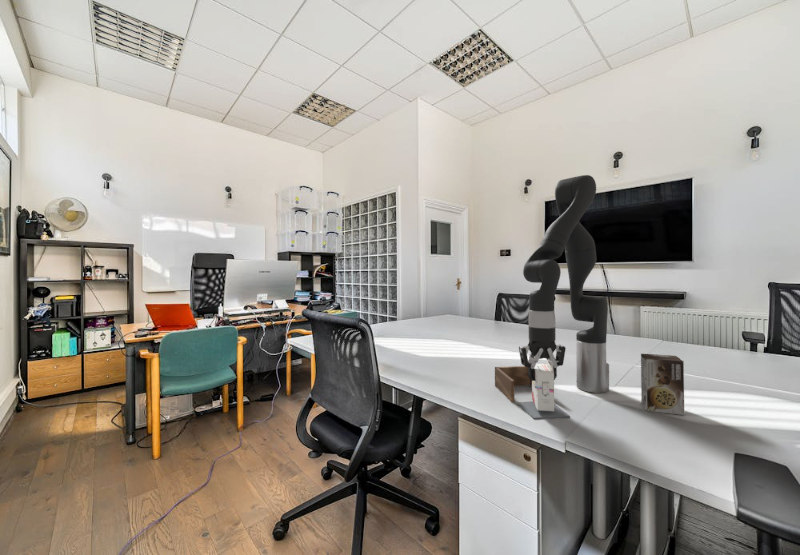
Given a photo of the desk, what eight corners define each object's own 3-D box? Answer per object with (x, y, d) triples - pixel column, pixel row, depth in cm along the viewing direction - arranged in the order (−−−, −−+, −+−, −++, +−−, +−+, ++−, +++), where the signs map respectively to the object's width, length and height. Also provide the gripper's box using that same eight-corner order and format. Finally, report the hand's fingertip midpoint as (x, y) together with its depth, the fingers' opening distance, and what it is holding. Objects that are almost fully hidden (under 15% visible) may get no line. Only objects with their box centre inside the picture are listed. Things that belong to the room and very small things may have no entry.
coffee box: (676, 407, 98) (676, 355, 98) (685, 416, 92) (685, 361, 92) (640, 402, 102) (640, 352, 102) (646, 411, 96) (646, 357, 96)
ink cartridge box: (531, 399, 103) (530, 353, 102) (547, 400, 102) (547, 354, 101) (536, 410, 94) (536, 361, 94) (555, 412, 93) (554, 362, 93)
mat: (550, 401, 104) (550, 400, 104) (570, 417, 93) (570, 416, 93) (517, 403, 103) (517, 402, 103) (533, 419, 92) (533, 417, 92)
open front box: (531, 384, 120) (531, 365, 120) (552, 400, 105) (552, 379, 105) (494, 385, 119) (494, 367, 119) (511, 402, 104) (511, 381, 104)
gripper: (557, 322, 102) (558, 374, 102) (513, 323, 101) (514, 376, 101) (571, 326, 94) (572, 382, 95) (524, 327, 93) (525, 384, 94)
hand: (542, 379), depth 98 cm, fingers closed on ink cartridge box, 5 cm apart
